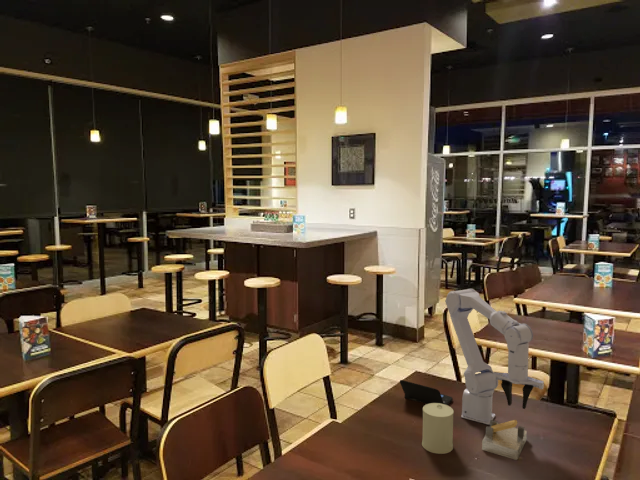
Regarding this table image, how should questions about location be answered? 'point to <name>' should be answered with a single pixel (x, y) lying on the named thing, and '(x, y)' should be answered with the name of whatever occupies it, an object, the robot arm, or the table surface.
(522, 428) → the lug
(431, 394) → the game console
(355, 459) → the table surface
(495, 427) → the golden yellow flat bar
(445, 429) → the can
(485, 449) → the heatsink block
